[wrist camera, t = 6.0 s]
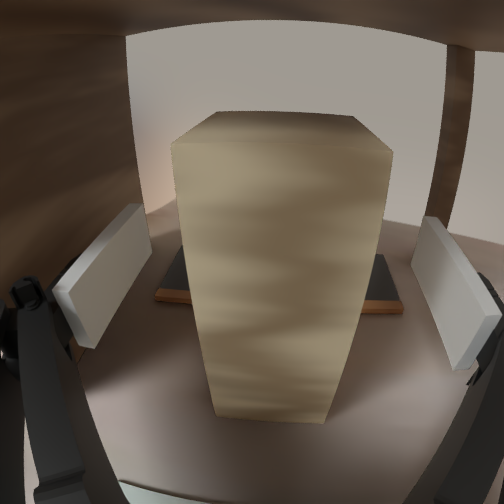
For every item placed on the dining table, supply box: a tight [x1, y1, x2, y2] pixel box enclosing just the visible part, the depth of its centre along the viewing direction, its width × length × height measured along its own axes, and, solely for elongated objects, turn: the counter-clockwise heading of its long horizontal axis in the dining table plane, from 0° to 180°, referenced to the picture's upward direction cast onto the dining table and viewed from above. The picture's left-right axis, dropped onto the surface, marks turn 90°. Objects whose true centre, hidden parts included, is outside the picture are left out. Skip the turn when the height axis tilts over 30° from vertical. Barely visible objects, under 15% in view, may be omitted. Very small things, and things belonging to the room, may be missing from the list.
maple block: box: [171, 111, 393, 423], centre depth 12 cm, size 5×5×12 cm
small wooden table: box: [0, 0, 504, 364], centre depth 13 cm, size 25×16×18 cm, turn 84°
